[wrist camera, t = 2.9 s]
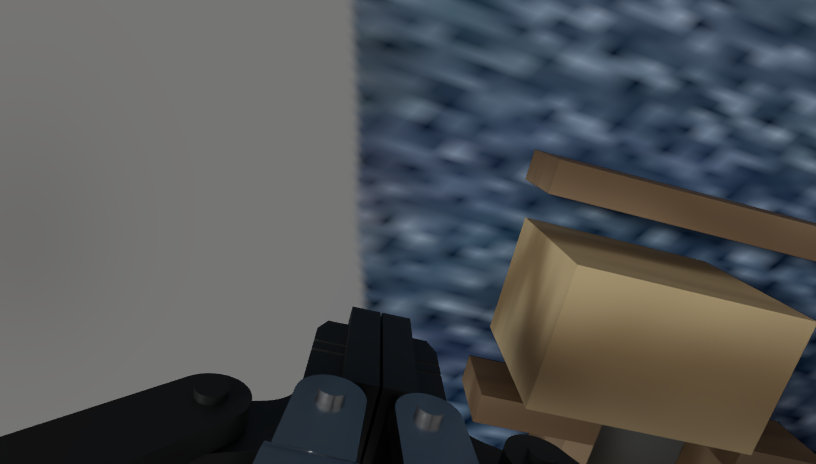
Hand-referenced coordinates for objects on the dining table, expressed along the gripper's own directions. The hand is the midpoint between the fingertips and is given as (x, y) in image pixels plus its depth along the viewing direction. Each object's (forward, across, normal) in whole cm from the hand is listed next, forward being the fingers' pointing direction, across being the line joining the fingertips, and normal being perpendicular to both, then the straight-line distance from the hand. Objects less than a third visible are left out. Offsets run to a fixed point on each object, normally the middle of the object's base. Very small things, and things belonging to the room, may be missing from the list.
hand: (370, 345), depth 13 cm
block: (+8, -10, 0) cm, 13 cm away
